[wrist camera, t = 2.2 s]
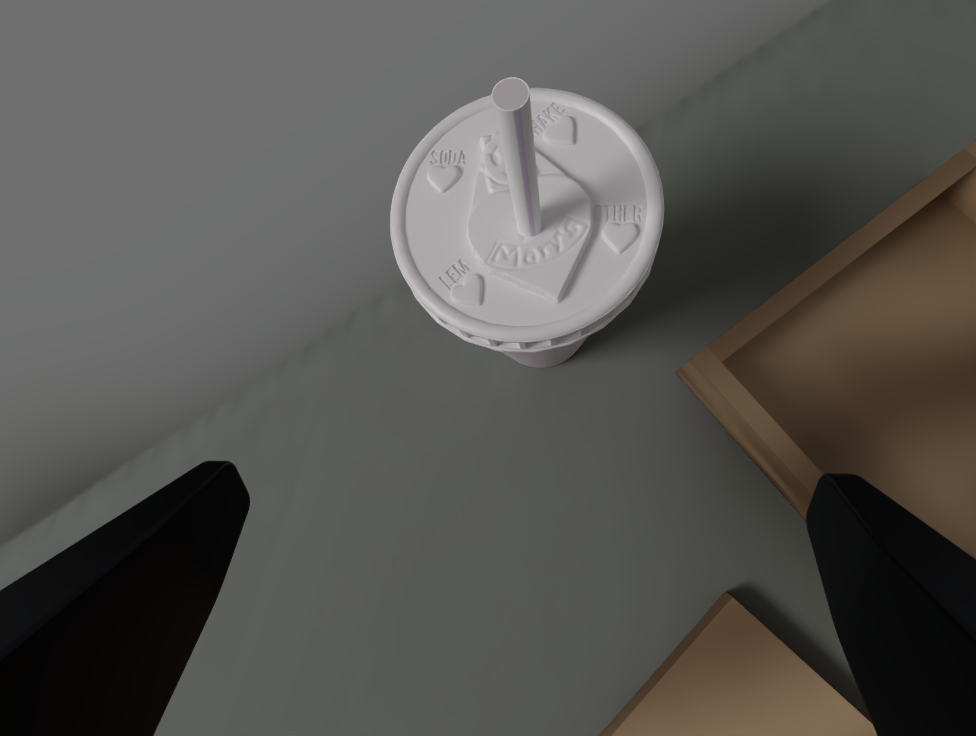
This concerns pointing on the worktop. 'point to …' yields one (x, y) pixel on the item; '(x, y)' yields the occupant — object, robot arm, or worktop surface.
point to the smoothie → (528, 221)
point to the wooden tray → (867, 362)
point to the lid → (736, 687)
